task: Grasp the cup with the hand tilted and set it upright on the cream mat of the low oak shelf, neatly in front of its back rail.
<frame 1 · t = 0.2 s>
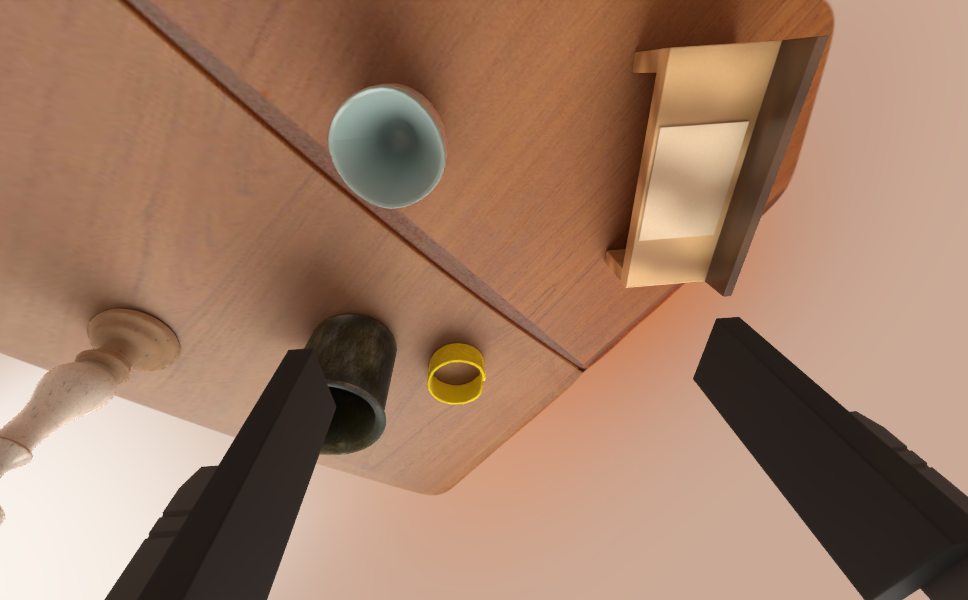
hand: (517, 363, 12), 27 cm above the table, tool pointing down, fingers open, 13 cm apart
bracelet: (457, 364, 48), on the table
cup: (405, 132, 33), on the table
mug: (343, 345, 45), on the table
shelf: (661, 169, 36), on the table
candle holder: (140, 336, 42), on the table
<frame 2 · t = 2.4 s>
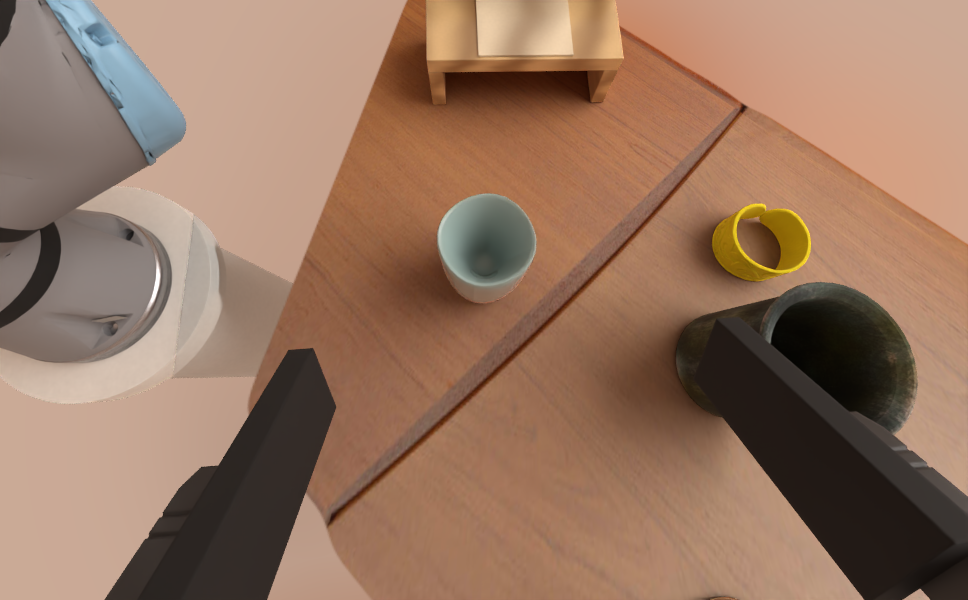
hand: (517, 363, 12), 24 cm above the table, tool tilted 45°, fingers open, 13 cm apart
bracelet: (746, 248, 39), on the table
cup: (483, 274, 37), on the table
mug: (724, 380, 36), on the table
shelf: (516, 71, 42), on the table
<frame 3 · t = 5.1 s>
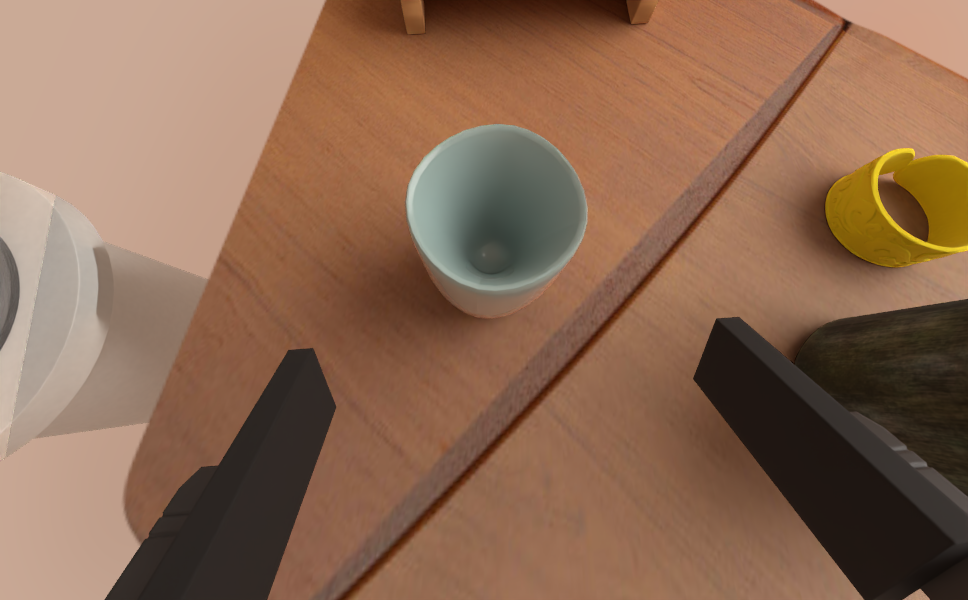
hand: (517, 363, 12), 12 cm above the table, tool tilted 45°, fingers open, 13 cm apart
bracelet: (875, 219, 26), on the table
cup: (488, 272, 25), on the table
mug: (869, 422, 23), on the table
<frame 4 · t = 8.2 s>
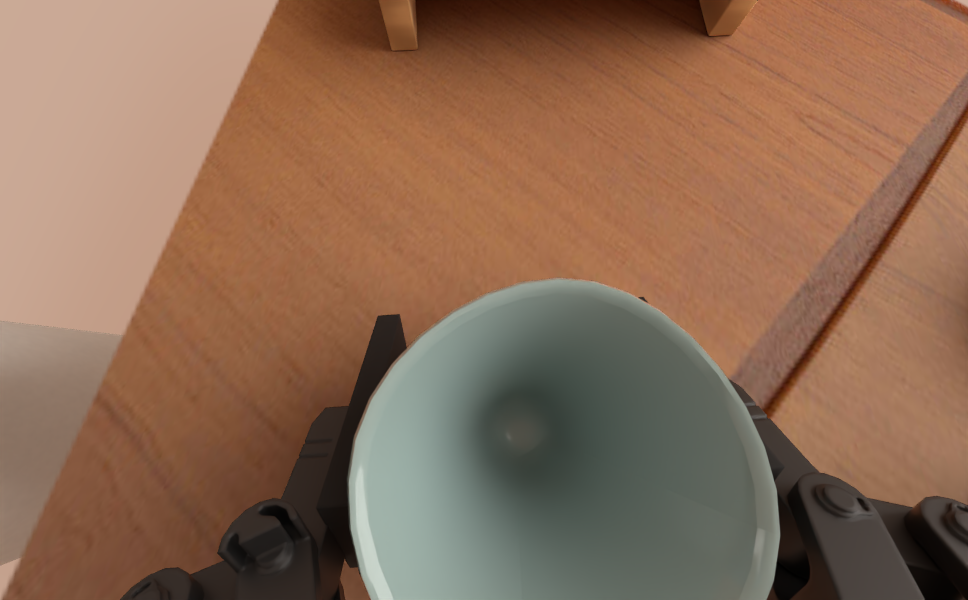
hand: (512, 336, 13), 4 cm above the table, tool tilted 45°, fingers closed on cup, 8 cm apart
cup: (511, 419, 16), on the table, touching gripper
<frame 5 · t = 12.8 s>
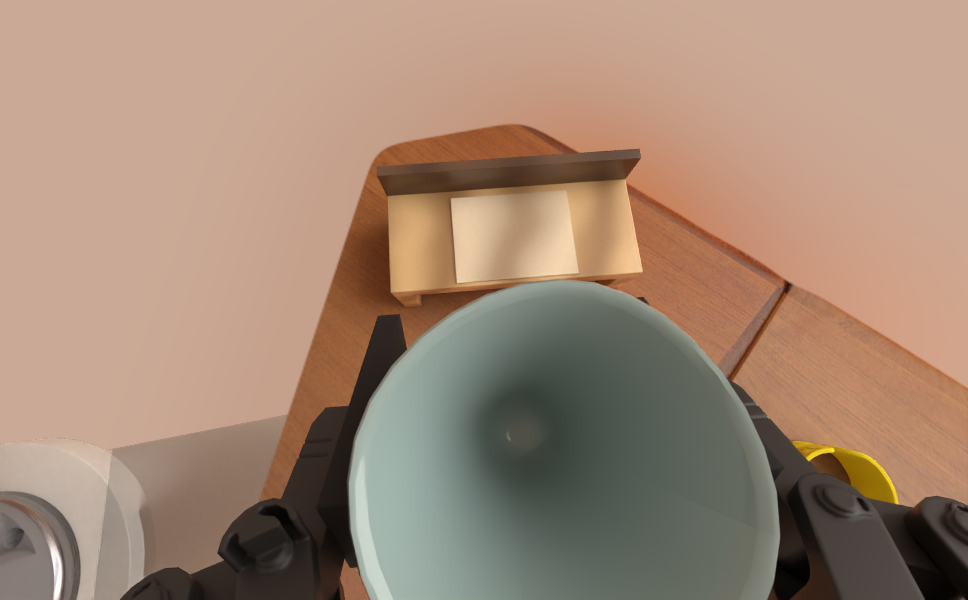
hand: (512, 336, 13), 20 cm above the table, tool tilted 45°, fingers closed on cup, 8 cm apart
bracelet: (807, 483, 31), on the table
cup: (511, 419, 16), point 16 cm above the table, touching gripper
shelf: (506, 254, 35), on the table
when the fingers open (10 cm above the table, at t = 17.6 s): cup stays where it is, resting on shelf.
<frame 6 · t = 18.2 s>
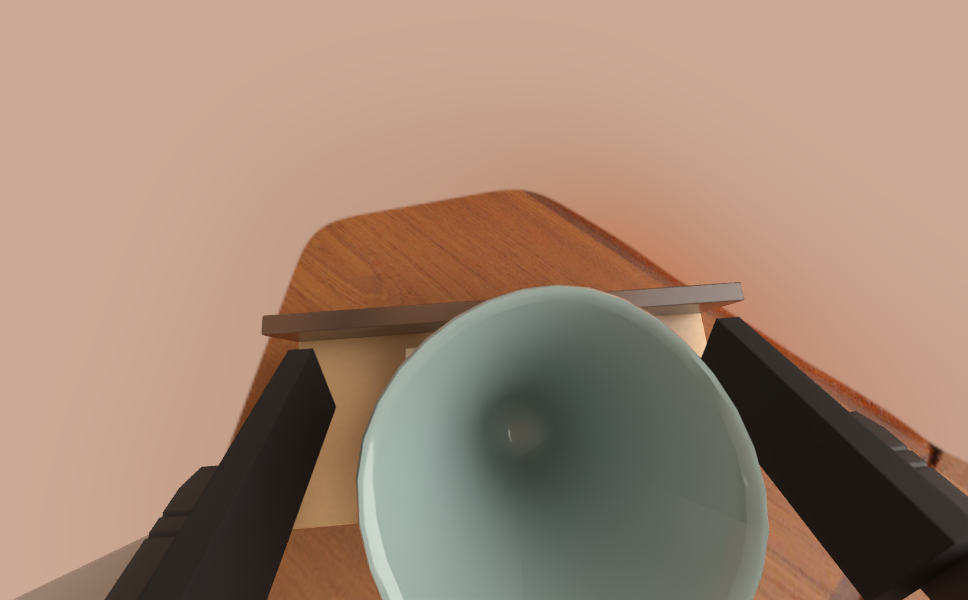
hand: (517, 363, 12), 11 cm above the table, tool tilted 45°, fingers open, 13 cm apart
cup: (511, 420, 17), point 6 cm above the table, touching shelf
shelf: (501, 397, 23), on the table
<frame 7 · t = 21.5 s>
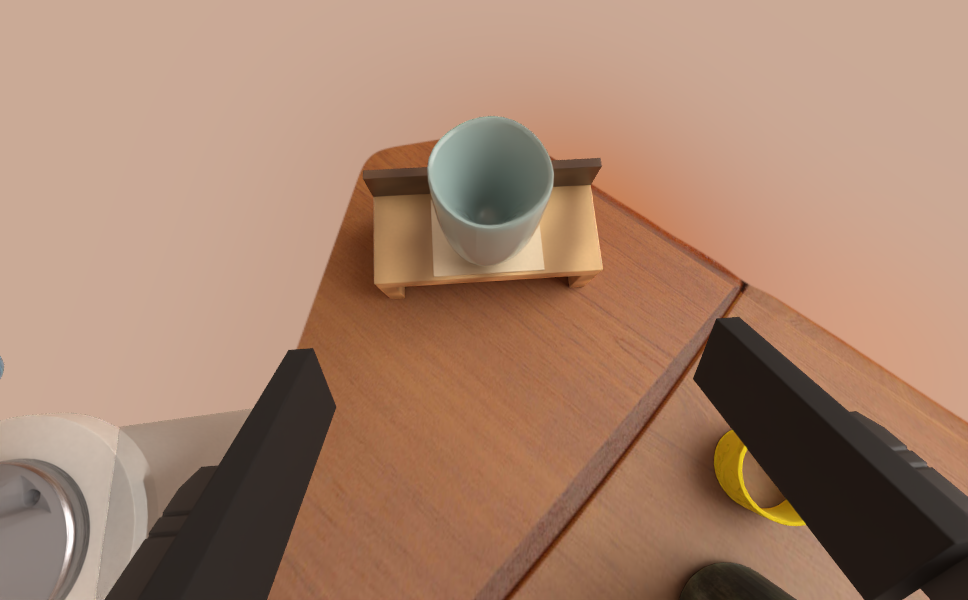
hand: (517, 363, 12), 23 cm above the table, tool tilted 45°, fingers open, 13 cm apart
bracelet: (754, 466, 34), on the table
cup: (486, 235, 31), point 6 cm above the table, touching shelf
shelf: (484, 251, 37), on the table
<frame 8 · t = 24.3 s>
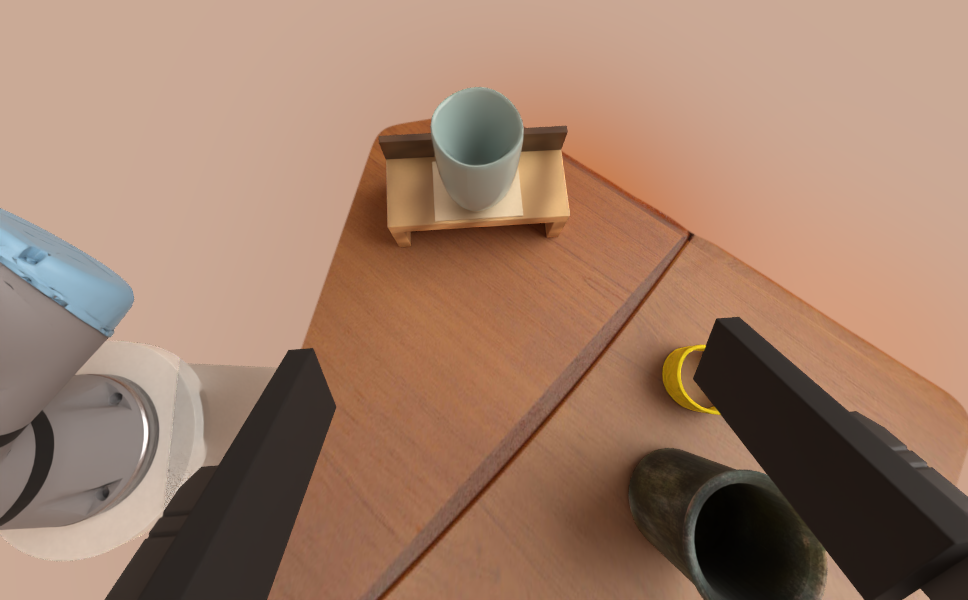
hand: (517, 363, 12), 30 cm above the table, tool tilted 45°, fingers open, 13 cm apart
bracelet: (694, 377, 41), on the table
cup: (477, 189, 39), point 6 cm above the table, touching shelf
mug: (675, 513, 38), on the table
shelf: (476, 209, 45), on the table
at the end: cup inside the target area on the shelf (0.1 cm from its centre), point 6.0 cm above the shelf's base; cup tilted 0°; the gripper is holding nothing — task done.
